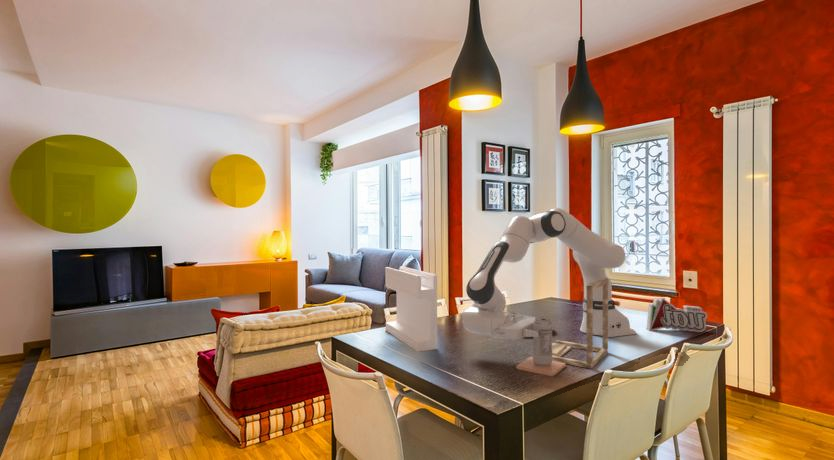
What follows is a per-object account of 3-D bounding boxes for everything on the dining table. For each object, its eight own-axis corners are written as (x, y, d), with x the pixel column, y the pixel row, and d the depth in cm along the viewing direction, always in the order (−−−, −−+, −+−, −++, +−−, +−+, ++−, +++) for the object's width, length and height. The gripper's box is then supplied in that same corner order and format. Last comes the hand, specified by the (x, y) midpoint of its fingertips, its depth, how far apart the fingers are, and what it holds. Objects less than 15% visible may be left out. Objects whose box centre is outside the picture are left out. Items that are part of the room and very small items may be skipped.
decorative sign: (701, 335, 191) (705, 301, 191) (704, 337, 189) (708, 302, 188) (646, 329, 193) (649, 295, 193) (648, 330, 191) (652, 296, 190)
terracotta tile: (565, 366, 144) (565, 363, 144) (552, 376, 135) (552, 373, 135) (530, 359, 151) (530, 356, 151) (516, 368, 142) (516, 365, 142)
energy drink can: (545, 360, 147) (546, 316, 146) (555, 366, 141) (555, 320, 141) (529, 362, 145) (529, 317, 145) (538, 368, 139) (539, 321, 139)
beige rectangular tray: (570, 348, 164) (570, 344, 164) (557, 358, 152) (557, 354, 152) (551, 345, 168) (551, 341, 168) (536, 355, 156) (537, 350, 156)
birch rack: (607, 352, 160) (608, 278, 159) (591, 368, 142) (591, 285, 141) (556, 343, 171) (557, 274, 170) (535, 358, 153) (535, 281, 153)
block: (437, 349, 164) (437, 274, 164) (417, 351, 161) (417, 275, 161) (402, 328, 196) (402, 266, 196) (385, 330, 193) (385, 267, 193)
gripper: (491, 321, 142) (531, 327, 134) (516, 311, 159) (554, 316, 150) (491, 341, 142) (531, 348, 134) (516, 328, 159) (554, 334, 150)
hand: (544, 331), depth 142 cm, fingers open, 8 cm apart
